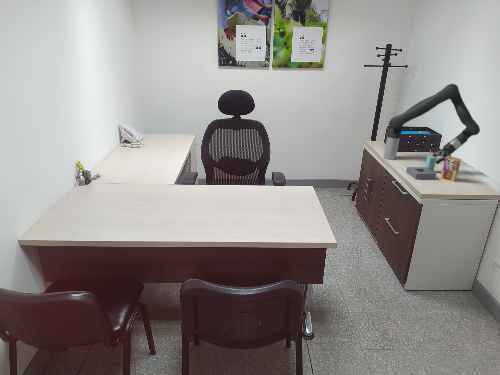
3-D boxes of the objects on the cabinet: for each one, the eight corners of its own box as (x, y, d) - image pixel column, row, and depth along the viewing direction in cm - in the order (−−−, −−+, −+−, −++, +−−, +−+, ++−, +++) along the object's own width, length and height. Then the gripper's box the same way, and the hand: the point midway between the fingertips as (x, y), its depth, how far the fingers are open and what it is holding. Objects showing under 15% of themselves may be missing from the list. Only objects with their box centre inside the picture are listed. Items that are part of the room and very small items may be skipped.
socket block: (405, 172, 260) (407, 166, 258) (424, 172, 261) (425, 167, 259) (415, 179, 247) (416, 173, 245) (435, 179, 248) (436, 173, 246)
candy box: (456, 180, 248) (462, 159, 242) (453, 181, 245) (459, 160, 239) (443, 176, 254) (448, 155, 248) (440, 177, 251) (445, 156, 245)
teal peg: (424, 170, 265) (427, 156, 260) (429, 170, 265) (433, 156, 261) (427, 172, 261) (430, 157, 256) (433, 172, 261) (436, 158, 257)
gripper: (444, 139, 262) (425, 154, 265) (455, 145, 249) (435, 160, 252) (449, 146, 264) (430, 161, 268) (461, 152, 251) (441, 168, 255)
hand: (433, 161), depth 260 cm, fingers open, 8 cm apart
